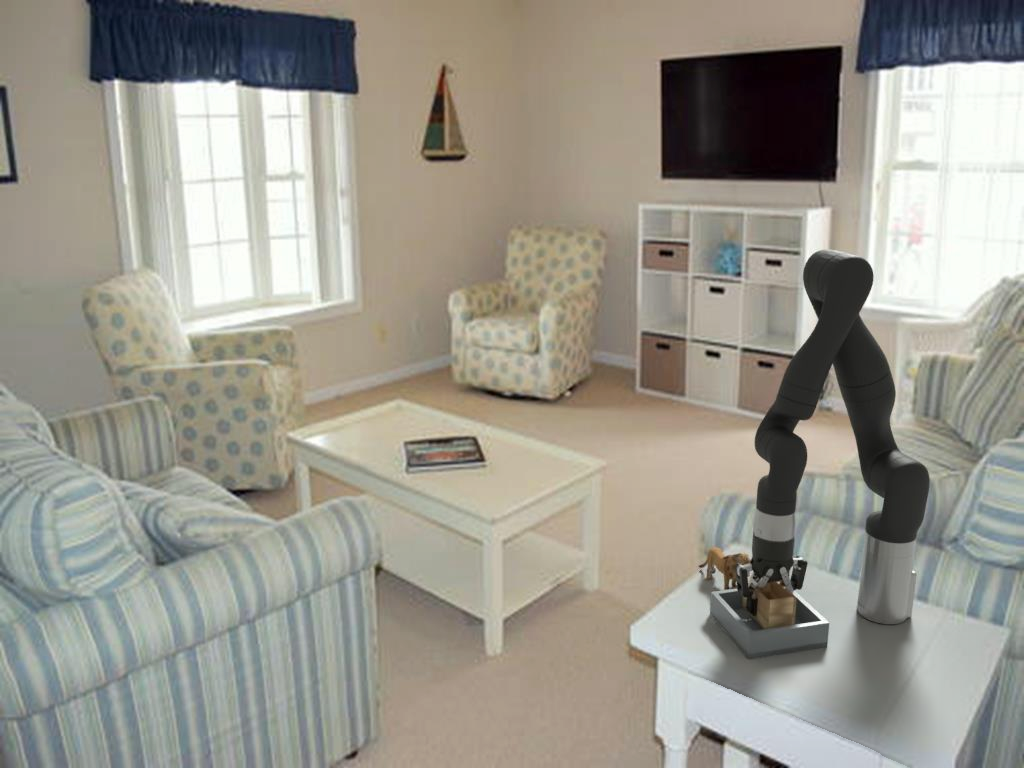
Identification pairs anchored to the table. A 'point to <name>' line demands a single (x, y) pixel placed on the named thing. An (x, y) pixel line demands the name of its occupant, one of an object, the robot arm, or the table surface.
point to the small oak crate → (774, 606)
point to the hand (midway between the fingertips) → (768, 611)
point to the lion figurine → (724, 565)
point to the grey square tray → (773, 641)
